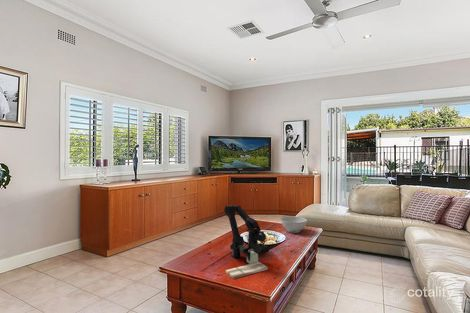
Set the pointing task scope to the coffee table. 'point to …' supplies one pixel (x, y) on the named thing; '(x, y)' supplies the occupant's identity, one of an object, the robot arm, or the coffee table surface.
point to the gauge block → (253, 258)
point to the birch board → (246, 270)
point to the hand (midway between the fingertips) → (252, 259)
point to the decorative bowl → (293, 223)
